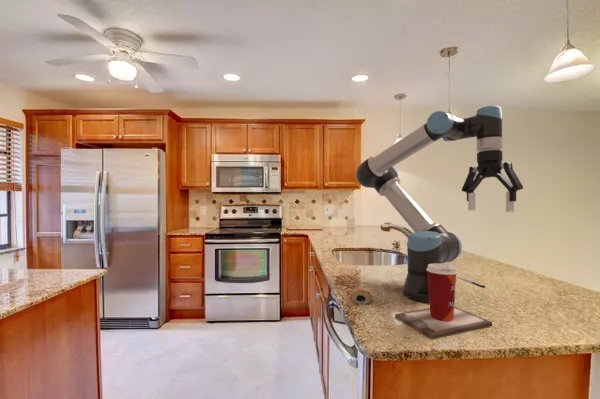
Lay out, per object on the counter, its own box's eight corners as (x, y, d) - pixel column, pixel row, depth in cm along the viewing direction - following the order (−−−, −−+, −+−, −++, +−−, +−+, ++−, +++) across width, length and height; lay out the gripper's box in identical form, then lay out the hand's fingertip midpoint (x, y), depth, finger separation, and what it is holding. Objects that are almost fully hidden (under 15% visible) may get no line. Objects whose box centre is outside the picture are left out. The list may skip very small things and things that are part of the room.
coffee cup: (462, 324, 76) (462, 270, 76) (430, 321, 78) (430, 268, 78) (452, 312, 85) (452, 263, 85) (423, 310, 86) (423, 262, 86)
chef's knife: (458, 276, 131) (452, 276, 131) (458, 274, 131) (452, 274, 131) (490, 288, 112) (483, 288, 112) (490, 286, 112) (484, 286, 112)
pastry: (355, 294, 105) (355, 284, 105) (374, 297, 103) (374, 286, 103) (351, 303, 96) (351, 292, 96) (370, 306, 94) (371, 294, 94)
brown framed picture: (395, 317, 84) (395, 311, 84) (449, 307, 91) (449, 301, 92) (431, 339, 71) (431, 331, 71) (491, 325, 78) (491, 318, 78)
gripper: (536, 145, 88) (536, 211, 88) (465, 156, 111) (465, 209, 111) (520, 143, 85) (521, 212, 85) (451, 156, 109) (451, 210, 109)
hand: (489, 211), depth 98 cm, fingers open, 13 cm apart
